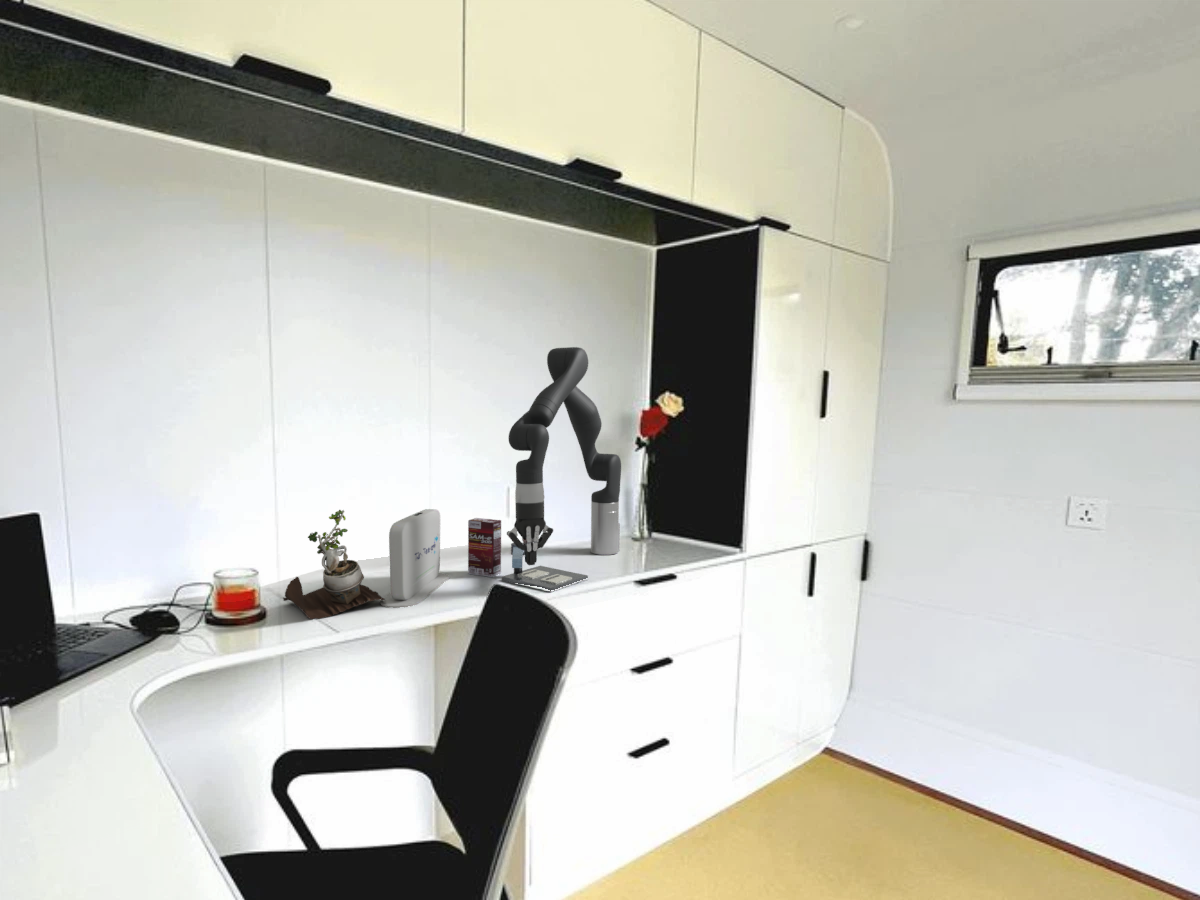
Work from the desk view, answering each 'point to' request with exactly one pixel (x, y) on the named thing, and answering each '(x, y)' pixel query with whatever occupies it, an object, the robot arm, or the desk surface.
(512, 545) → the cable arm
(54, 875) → the desk surface
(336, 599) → the potted plant
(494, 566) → the supplement box
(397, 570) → the wireless router
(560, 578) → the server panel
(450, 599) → the desk surface
